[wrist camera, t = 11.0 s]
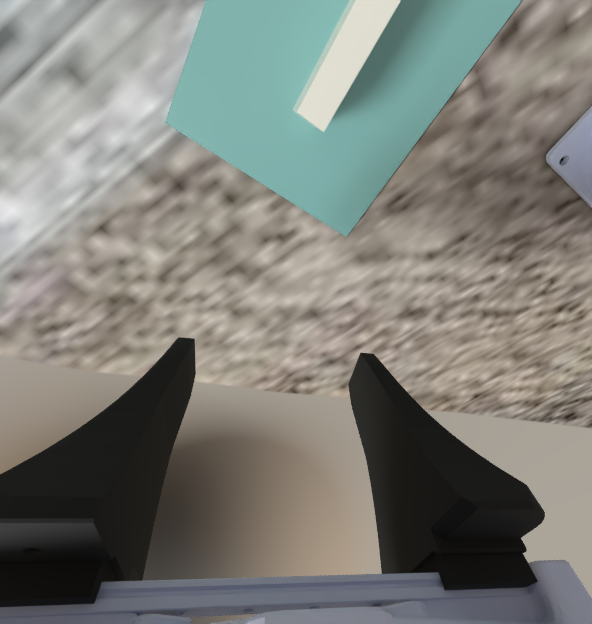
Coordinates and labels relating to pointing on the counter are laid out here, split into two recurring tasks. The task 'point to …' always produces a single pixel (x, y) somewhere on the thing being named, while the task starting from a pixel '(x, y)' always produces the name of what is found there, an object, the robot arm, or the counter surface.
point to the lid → (326, 89)
